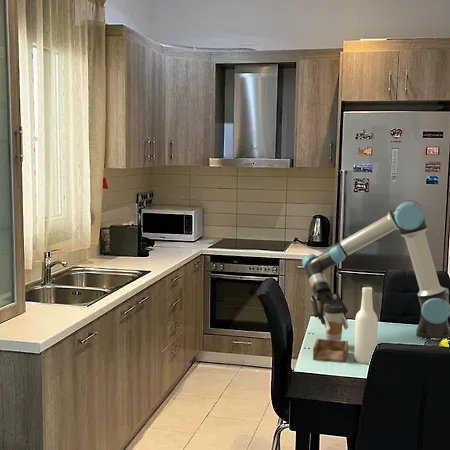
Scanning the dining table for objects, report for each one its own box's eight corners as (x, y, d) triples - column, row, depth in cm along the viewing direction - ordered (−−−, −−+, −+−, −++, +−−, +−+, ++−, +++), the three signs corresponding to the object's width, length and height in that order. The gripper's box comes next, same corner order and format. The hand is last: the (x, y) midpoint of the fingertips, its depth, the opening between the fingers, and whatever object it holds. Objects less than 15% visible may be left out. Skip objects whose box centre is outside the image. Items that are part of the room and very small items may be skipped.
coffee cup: (344, 338, 261) (345, 304, 259) (342, 343, 253) (342, 309, 252) (325, 336, 264) (326, 303, 262) (322, 341, 256) (322, 307, 254)
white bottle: (378, 359, 241) (380, 286, 238) (374, 365, 234) (376, 291, 230) (357, 356, 245) (359, 284, 242) (352, 362, 237) (353, 288, 234)
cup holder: (347, 352, 250) (348, 341, 249) (345, 362, 237) (345, 350, 237) (316, 349, 253) (317, 338, 253) (313, 359, 241) (313, 347, 240)
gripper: (337, 288, 274) (355, 331, 261) (296, 291, 267) (313, 336, 254) (343, 278, 269) (362, 322, 255) (301, 282, 262) (319, 327, 248)
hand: (337, 329), depth 255 cm, fingers closed on coffee cup, 8 cm apart
